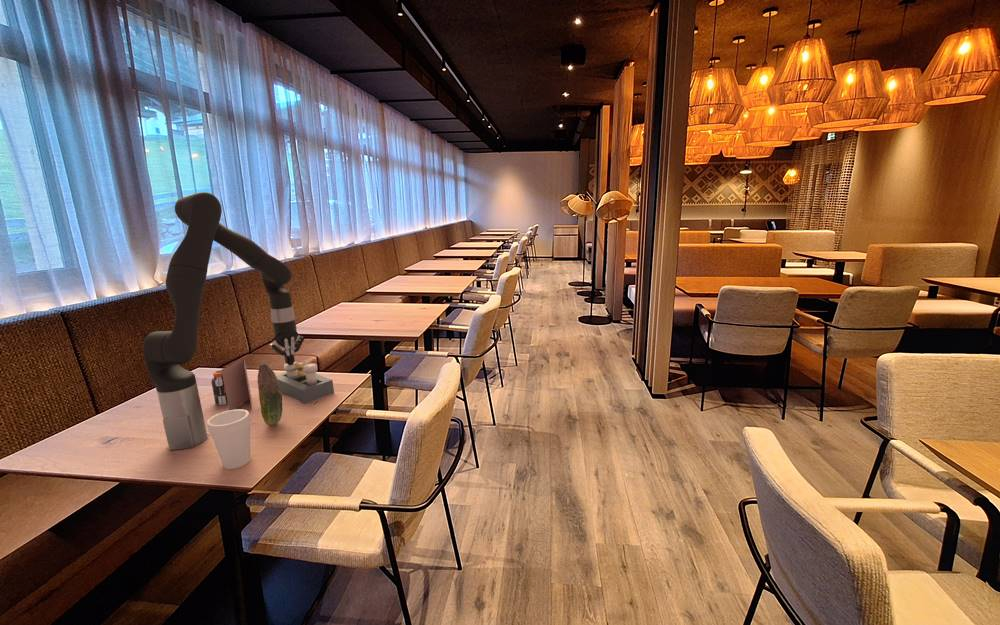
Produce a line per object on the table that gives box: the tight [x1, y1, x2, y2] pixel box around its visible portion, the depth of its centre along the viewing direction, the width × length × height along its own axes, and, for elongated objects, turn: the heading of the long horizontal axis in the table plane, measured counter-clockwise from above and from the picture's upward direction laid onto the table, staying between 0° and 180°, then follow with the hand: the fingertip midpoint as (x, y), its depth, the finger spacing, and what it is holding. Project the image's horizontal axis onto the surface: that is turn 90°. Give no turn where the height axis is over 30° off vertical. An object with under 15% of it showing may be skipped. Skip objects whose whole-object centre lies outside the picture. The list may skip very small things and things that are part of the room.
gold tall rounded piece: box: [294, 361, 306, 382], centre depth 162 cm, size 4×4×7 cm
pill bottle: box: [210, 369, 228, 406], centre depth 155 cm, size 6×6×11 cm
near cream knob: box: [303, 363, 318, 386], centre depth 157 cm, size 5×5×7 cm
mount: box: [276, 371, 335, 405], centre depth 163 cm, size 22×11×5 cm, turn 52°
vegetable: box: [257, 363, 283, 427], centre depth 136 cm, size 6×6×20 cm
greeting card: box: [221, 357, 253, 411], centre depth 152 cm, size 11×7×15 cm, turn 175°
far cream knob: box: [283, 361, 297, 378], centre depth 166 cm, size 5×5×7 cm
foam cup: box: [206, 408, 252, 470], centre depth 117 cm, size 10×9×13 cm
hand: (290, 364), depth 166 cm, fingers closed
